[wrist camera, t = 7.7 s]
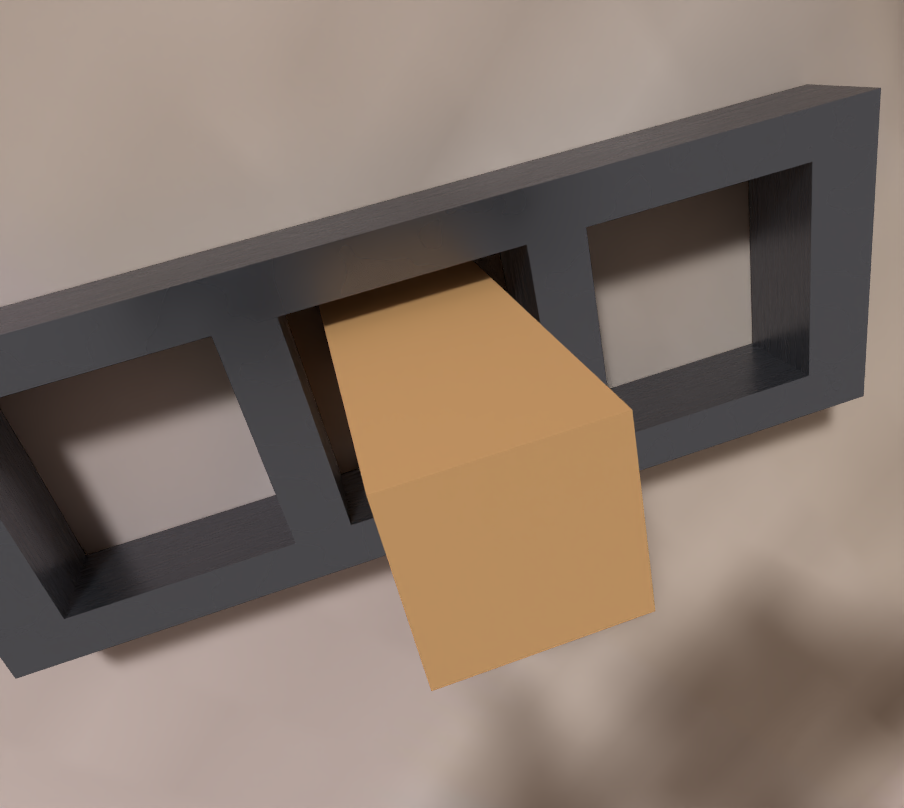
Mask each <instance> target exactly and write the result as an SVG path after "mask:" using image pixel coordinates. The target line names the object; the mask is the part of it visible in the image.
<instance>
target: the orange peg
mask: <svg viewBox="0 0 904 808" xmlns="http://www.w3.org/2000/svg"><path fill="white" fill-rule="evenodd" d="M319 309H320V313H321V316H322V320H323V324H324V328H325V332H326V336H327V340H328V344H329V348H330V352H331V356H332V360H333V364H334V368H335V372H336V376H337V380H338V384H339V388H340V392H341V396H342V400H343V404H344V408H345V412H346V416H347V420H348V424H349V428H350V432H351V436H352V440H353V444H354V448H355V452H356V456H357V460H358V464H359V468H360V472H361V476H362V480H363V484H364V488H365V492H366V496H367V499H368V502H369V505H370V508H371V511H372V514H373V517H374V520H375V523H376V526H377V529H378V532H379V535H380V538H381V541H382V544H383V547H384V550H385V553H386V556H387V559H388V562H389V565H390V568H391V571H392V574H393V577H394V580H395V583H396V586H397V589H398V592H399V595H400V598H401V601H402V604H403V607H404V610H405V613H406V616H407V619H408V622H409V625H410V628H411V631H412V634H413V637H414V640H415V643H416V646H417V649H418V652H419V655H420V658H421V661H422V664H423V667H424V670H425V673H426V676H427V679H428V682H429V685H430V688H431V691H433V690H436V689H439V688H442V687H445V686H447V685H450V684H453V683H456V682H459V681H461V680H464V679H467V678H470V677H473V676H475V675H478V674H481V673H484V672H487V671H489V670H492V669H495V668H498V667H501V666H503V665H506V664H509V663H512V662H515V661H517V660H520V659H523V658H526V657H528V656H531V655H534V654H537V653H540V652H542V651H545V650H548V649H551V648H554V647H556V646H559V645H562V644H565V643H568V642H570V641H573V640H576V639H579V638H582V637H584V636H587V635H590V634H593V633H596V632H598V631H601V630H604V629H607V628H610V627H612V626H615V625H618V624H621V623H623V622H626V621H629V620H632V619H635V618H637V617H640V616H643V615H646V614H649V613H651V612H654V611H655V604H654V596H653V587H652V578H651V569H650V560H649V552H648V543H647V534H646V525H645V517H644V508H643V499H642V490H641V481H640V473H639V464H638V455H637V446H636V438H635V429H634V420H633V411H632V409H631V408H630V407H629V406H628V405H627V404H626V403H625V402H623V401H622V400H621V399H620V398H619V397H618V396H617V395H616V394H615V393H614V392H613V391H612V390H611V389H610V388H608V387H607V386H606V385H605V384H604V383H603V382H602V381H601V380H600V379H599V378H598V377H597V376H596V375H595V374H593V373H592V372H591V371H590V370H589V369H588V368H587V367H586V366H585V365H584V364H583V363H582V362H581V361H580V360H578V359H577V358H576V357H575V356H574V355H573V354H572V353H571V352H570V351H569V350H568V349H567V348H566V347H565V346H563V345H562V344H561V343H560V342H559V341H558V340H557V339H556V338H555V337H554V336H553V335H552V334H551V333H550V332H548V331H547V330H546V329H545V328H544V327H543V326H542V325H541V324H540V323H539V322H538V321H537V320H536V319H535V318H533V317H532V316H531V315H530V314H529V313H528V312H527V311H526V310H525V309H524V308H523V307H522V306H521V305H520V304H519V303H517V302H516V301H515V300H514V299H513V298H512V297H511V296H510V295H509V294H508V293H507V292H506V291H505V290H504V289H502V288H501V287H500V286H499V285H498V284H497V283H496V282H495V281H494V280H493V279H492V278H491V277H490V276H489V275H487V274H486V273H485V272H484V271H483V270H482V269H481V268H480V267H479V266H478V265H477V264H476V263H475V262H474V261H468V262H465V263H461V264H458V265H454V266H451V267H448V268H444V269H441V270H437V271H434V272H430V273H427V274H423V275H420V276H417V277H413V278H410V279H406V280H403V281H399V282H396V283H392V284H389V285H386V286H382V287H379V288H375V289H372V290H368V291H365V292H361V293H358V294H354V295H351V296H348V297H344V298H341V299H337V300H334V301H330V302H327V303H323V304H320V305H319Z"/></svg>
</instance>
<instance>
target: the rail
mask: <svg viewBox="0 0 904 808" xmlns="http://www.w3.org/2000/svg"><path fill="white" fill-rule="evenodd" d="M880 94H881V88H872V87H851V86H829V85H808V84H807V85H803V86H800V87H796V88H792V89H789V90H785V91H782V92H778V93H774V94H771V95H767V96H764V97H760V98H756V99H753V100H749V101H745V102H742V103H738V104H735V105H731V106H727V107H724V108H720V109H717V110H713V111H709V112H706V113H702V114H698V115H695V116H691V117H688V118H684V119H680V120H677V121H673V122H669V123H666V124H662V125H659V126H655V127H651V128H648V129H644V130H641V131H637V132H633V133H630V134H626V135H622V136H619V137H615V138H612V139H608V140H604V141H601V142H597V143H594V144H590V145H586V146H583V147H579V148H575V149H572V150H568V151H565V152H561V153H557V154H554V155H550V156H547V157H543V158H539V159H536V160H532V161H528V162H525V163H521V164H518V165H514V166H510V167H507V168H503V169H499V170H496V171H492V172H489V173H485V174H481V175H478V176H474V177H471V178H467V179H463V180H460V181H456V182H452V183H449V184H445V185H442V186H438V187H434V188H431V189H427V190H424V191H420V192H416V193H413V194H409V195H405V196H402V197H398V198H395V199H391V200H387V201H384V202H380V203H376V204H373V205H369V206H366V207H362V208H358V209H355V210H351V211H348V212H344V213H340V214H337V215H333V216H329V217H326V218H322V219H319V220H315V221H311V222H308V223H304V224H301V225H297V226H293V227H290V228H286V229H282V230H279V231H275V232H272V233H268V234H264V235H261V236H257V237H253V238H250V239H246V240H243V241H239V242H235V243H232V244H228V245H225V246H221V247H217V248H214V249H210V250H206V251H203V252H199V253H196V254H192V255H188V256H185V257H181V258H178V259H174V260H170V261H167V262H163V263H159V264H156V265H152V266H149V267H145V268H141V269H138V270H134V271H130V272H127V273H123V274H120V275H116V276H112V277H109V278H105V279H102V280H98V281H94V282H91V283H87V284H83V285H80V286H76V287H73V288H69V289H65V290H62V291H58V292H55V293H51V294H47V295H44V296H40V297H36V298H33V299H29V300H26V301H22V302H18V303H15V304H11V305H8V306H4V307H0V397H3V396H6V395H10V394H13V393H17V392H20V391H23V390H27V389H30V388H34V387H37V386H41V385H44V384H48V383H51V382H55V381H58V380H61V379H65V378H68V377H72V376H75V375H79V374H82V373H86V372H89V371H92V370H96V369H99V368H103V367H106V366H110V365H113V364H117V363H120V362H123V361H127V360H130V359H134V358H137V357H141V356H144V355H148V354H151V353H155V352H158V351H161V350H165V349H168V348H172V347H175V346H179V345H182V344H186V343H189V342H192V341H196V340H199V339H203V338H206V337H210V336H212V339H213V341H214V343H215V346H216V348H217V351H218V353H219V356H220V358H221V361H222V363H223V366H224V368H225V371H226V373H227V375H228V378H229V380H230V383H231V385H232V388H233V390H234V393H235V395H236V398H237V400H238V403H239V405H240V407H241V410H242V412H243V415H244V417H245V420H246V422H247V425H248V427H249V430H250V432H251V435H252V437H253V439H254V442H255V444H256V447H257V449H258V452H259V454H260V457H261V459H262V462H263V464H264V467H265V469H266V471H267V474H268V476H269V479H270V481H271V484H272V486H273V489H274V491H275V494H276V495H275V496H272V497H268V498H265V499H262V500H259V501H256V502H253V503H250V504H246V505H243V506H240V507H237V508H234V509H231V510H228V511H224V512H221V513H218V514H215V515H212V516H209V517H206V518H202V519H199V520H196V521H193V522H190V523H187V524H184V525H180V526H177V527H174V528H171V529H168V530H165V531H162V532H158V533H155V534H152V535H149V536H146V537H143V538H140V539H136V540H133V541H130V542H127V543H124V544H121V545H118V546H114V547H111V548H108V549H105V550H102V551H99V552H96V553H92V554H89V555H85V553H84V551H83V549H82V548H81V546H80V544H79V543H78V541H77V539H76V537H75V536H74V534H73V532H72V531H71V529H70V527H69V525H68V524H67V522H66V520H65V519H64V517H63V515H62V514H61V512H60V510H59V508H58V507H57V505H56V503H55V502H54V500H53V498H52V496H51V495H50V493H49V491H48V490H47V488H46V486H45V484H44V483H43V481H42V479H41V478H40V476H39V474H38V473H37V471H36V469H35V467H34V466H33V464H32V462H31V461H30V459H29V457H28V455H27V454H26V452H25V450H24V449H23V447H22V445H21V444H20V442H19V440H18V438H17V437H16V435H15V433H14V432H13V430H12V428H11V426H10V425H9V423H8V421H7V420H6V418H5V416H4V414H3V413H2V411H1V409H0V658H1V659H2V660H3V662H4V663H5V665H6V666H7V667H8V669H9V670H10V671H11V673H12V674H13V676H14V677H15V678H19V677H22V676H25V675H28V674H31V673H34V672H37V671H40V670H43V669H46V668H49V667H52V666H55V665H58V664H61V663H64V662H67V661H70V660H73V659H76V658H79V657H82V656H85V655H88V654H91V653H94V652H97V651H100V650H103V649H106V648H109V647H112V646H115V645H118V644H121V643H124V642H127V641H130V640H133V639H136V638H139V637H142V636H145V635H148V634H151V633H154V632H157V631H160V630H163V629H166V628H169V627H172V626H175V625H178V624H181V623H184V622H187V621H190V620H193V619H196V618H199V617H202V616H205V615H208V614H211V613H214V612H217V611H220V610H223V609H226V608H229V607H232V606H235V605H238V604H241V603H244V602H247V601H250V600H253V599H256V598H259V597H262V596H265V595H268V594H271V593H274V592H277V591H280V590H283V589H286V588H289V587H292V586H295V585H298V584H301V583H304V582H307V581H310V580H313V579H316V578H319V577H322V576H325V575H328V574H331V573H334V572H337V571H340V570H343V569H346V568H349V567H352V566H355V565H358V564H361V563H364V562H367V561H370V560H373V559H376V558H379V557H382V556H385V555H386V553H385V550H384V547H383V544H382V541H381V538H380V535H379V532H378V529H377V526H376V523H375V520H374V517H373V514H372V511H371V508H370V505H369V502H368V499H367V496H366V492H365V488H364V484H363V480H362V476H361V472H360V469H356V470H353V471H350V472H347V473H344V474H341V473H340V470H339V467H338V465H337V462H336V459H335V456H334V453H333V450H332V447H331V444H330V442H329V439H328V436H327V433H326V430H325V427H324V424H323V422H322V419H321V416H320V413H319V410H318V407H317V404H316V401H315V399H314V396H313V393H312V390H311V387H310V384H309V381H308V379H307V376H306V373H305V370H304V367H303V364H302V361H301V359H300V356H299V353H298V350H297V347H296V344H295V341H294V338H293V336H292V333H291V330H290V327H289V324H288V321H287V318H286V316H285V315H286V314H289V313H292V312H296V311H299V310H303V309H306V308H310V307H313V306H317V305H320V304H323V303H327V302H330V301H334V300H337V299H341V298H344V297H348V296H351V295H354V294H358V293H361V292H365V291H368V290H372V289H375V288H379V287H382V286H386V285H389V284H392V283H396V282H399V281H403V280H406V279H410V278H413V277H417V276H420V275H423V274H427V273H430V272H434V271H437V270H441V269H444V268H448V267H451V266H454V265H458V264H461V263H465V262H468V261H472V260H475V259H479V258H482V257H486V256H489V255H492V254H496V253H499V252H500V255H501V260H502V265H503V271H504V276H505V281H506V286H507V292H508V294H509V295H510V296H511V297H512V298H513V299H514V300H515V301H516V302H517V303H519V304H520V305H521V306H522V307H523V308H524V309H525V310H526V311H527V312H528V313H529V314H530V315H531V316H532V317H533V318H535V319H536V320H537V321H538V322H539V323H540V324H541V325H542V326H543V327H544V328H545V329H546V330H547V331H548V332H550V333H551V334H552V335H553V336H554V337H555V338H556V339H557V340H558V341H559V342H560V343H561V344H562V345H563V346H565V347H566V348H567V349H568V350H569V351H570V352H571V353H572V354H573V355H574V356H575V357H576V358H577V359H578V360H580V361H581V362H582V363H583V364H584V365H585V366H586V367H587V368H588V369H589V370H590V371H591V372H592V373H593V374H595V375H596V376H597V377H598V378H599V379H600V380H601V381H602V382H603V383H604V384H605V385H606V386H607V382H606V374H605V367H604V359H603V352H602V344H601V336H600V329H599V321H598V314H597V306H596V298H595V291H594V283H593V276H592V268H591V260H590V253H589V245H588V238H587V230H586V227H589V226H592V225H596V224H599V223H603V222H606V221H610V220H613V219H617V218H620V217H623V216H627V215H630V214H634V213H637V212H641V211H644V210H648V209H651V208H654V207H658V206H661V205H665V204H668V203H672V202H675V201H679V200H682V199H685V198H689V197H692V196H696V195H699V194H703V193H706V192H710V191H713V190H717V189H720V188H723V187H727V186H730V185H734V184H737V183H741V182H744V181H748V180H749V210H750V251H751V292H752V333H753V343H752V344H749V345H746V346H743V347H740V348H737V349H734V350H730V351H727V352H724V353H721V354H718V355H715V356H712V357H708V358H705V359H702V360H699V361H696V362H693V363H690V364H686V365H683V366H680V367H677V368H674V369H671V370H668V371H664V372H661V373H658V374H655V375H652V376H649V377H646V378H642V379H639V380H636V381H633V382H630V383H627V384H624V385H620V386H617V387H614V388H611V390H612V391H613V392H614V393H615V394H616V395H617V396H618V397H619V398H620V399H621V400H622V401H623V402H625V403H626V404H627V405H628V406H629V407H630V408H631V409H632V411H633V420H634V429H635V438H636V446H637V455H638V464H639V471H640V470H643V469H646V468H649V467H652V466H655V465H658V464H661V463H664V462H667V461H670V460H673V459H676V458H679V457H682V456H685V455H688V454H691V453H694V452H697V451H700V450H703V449H706V448H709V447H712V446H715V445H718V444H721V443H724V442H727V441H730V440H733V439H736V438H739V437H742V436H745V435H748V434H751V433H754V432H757V431H760V430H763V429H766V428H769V427H772V426H775V425H778V424H781V423H784V422H787V421H790V420H793V419H796V418H799V417H802V416H805V415H808V414H811V413H814V412H817V411H820V410H823V409H826V408H829V407H832V406H835V405H838V404H841V403H844V402H847V401H850V400H853V399H856V398H859V397H862V396H864V378H865V361H866V343H867V325H868V307H869V290H870V272H871V254H872V236H873V219H874V201H875V183H876V165H877V148H878V130H879V112H880Z"/></svg>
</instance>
